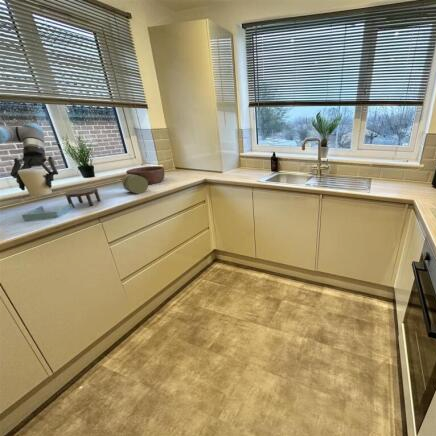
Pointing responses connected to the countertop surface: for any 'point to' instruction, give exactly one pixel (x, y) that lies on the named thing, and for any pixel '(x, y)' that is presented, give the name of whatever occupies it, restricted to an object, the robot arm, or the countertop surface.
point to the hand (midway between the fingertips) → (35, 187)
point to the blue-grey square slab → (46, 213)
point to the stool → (82, 192)
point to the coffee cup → (35, 181)
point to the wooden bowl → (149, 173)
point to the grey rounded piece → (134, 183)
